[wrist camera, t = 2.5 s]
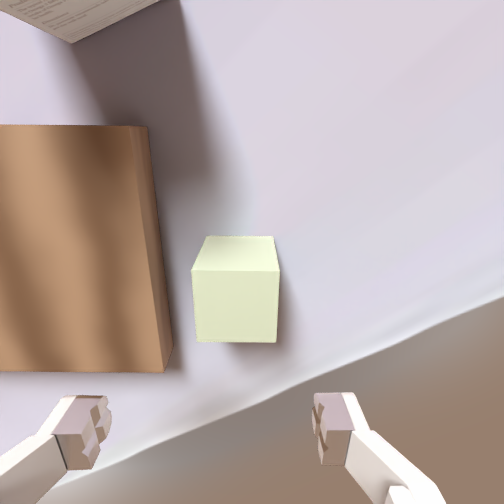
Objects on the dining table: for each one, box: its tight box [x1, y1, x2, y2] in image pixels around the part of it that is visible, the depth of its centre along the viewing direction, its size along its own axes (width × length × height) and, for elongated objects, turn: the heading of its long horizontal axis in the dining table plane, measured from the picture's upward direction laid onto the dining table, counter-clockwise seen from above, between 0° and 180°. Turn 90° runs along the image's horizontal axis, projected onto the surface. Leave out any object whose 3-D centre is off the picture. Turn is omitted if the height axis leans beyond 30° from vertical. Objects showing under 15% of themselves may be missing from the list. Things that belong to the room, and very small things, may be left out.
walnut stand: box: [0, 125, 173, 373], centre depth 21 cm, size 18×18×3 cm
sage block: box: [191, 236, 280, 343], centre depth 20 cm, size 5×5×6 cm
